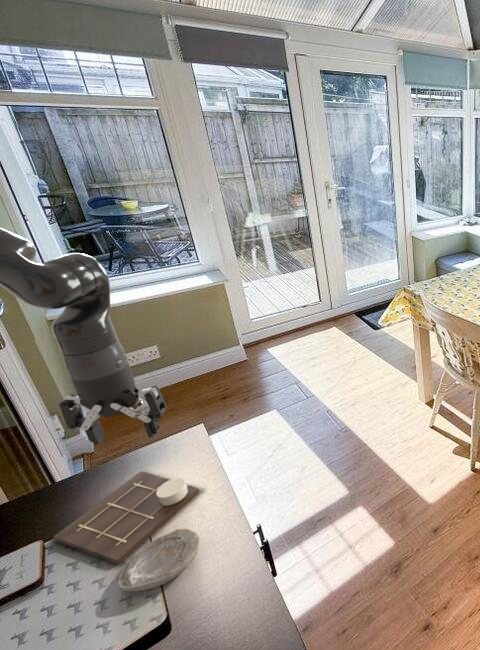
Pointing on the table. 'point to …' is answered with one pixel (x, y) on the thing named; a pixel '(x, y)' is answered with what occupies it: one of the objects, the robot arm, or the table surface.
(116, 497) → the board
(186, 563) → the fossil
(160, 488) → the stone
